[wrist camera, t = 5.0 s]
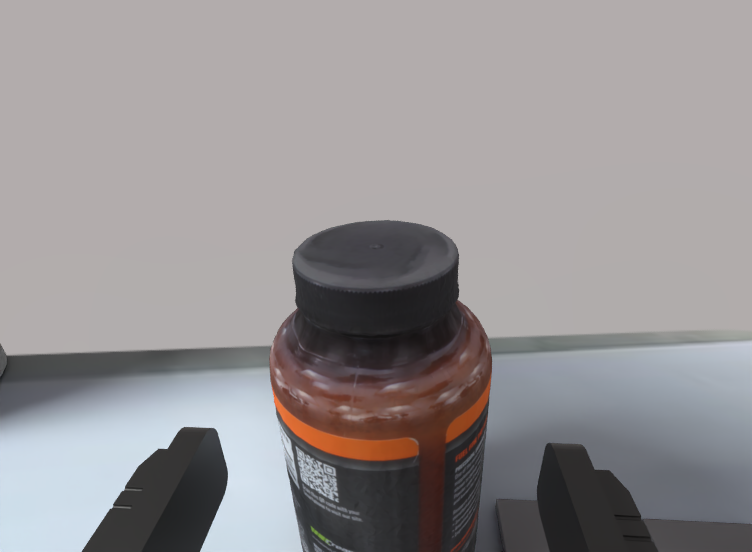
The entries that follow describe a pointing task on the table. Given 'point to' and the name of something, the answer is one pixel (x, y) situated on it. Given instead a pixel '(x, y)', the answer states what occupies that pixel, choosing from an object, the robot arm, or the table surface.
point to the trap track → (671, 537)
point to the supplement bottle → (382, 392)
